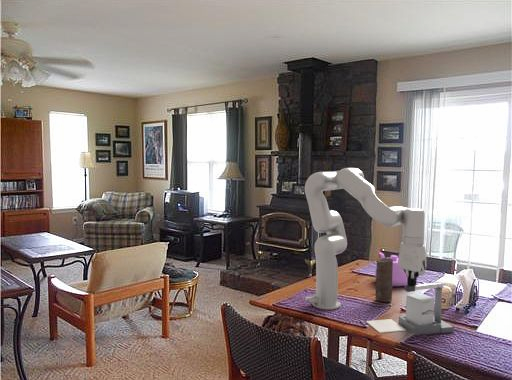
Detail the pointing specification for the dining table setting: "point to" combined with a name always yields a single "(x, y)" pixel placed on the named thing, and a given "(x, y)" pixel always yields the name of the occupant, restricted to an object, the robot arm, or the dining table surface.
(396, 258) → the kettle
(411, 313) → the supplement box
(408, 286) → the bar
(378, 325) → the tile pad
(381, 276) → the brown rectangular block
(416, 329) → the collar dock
